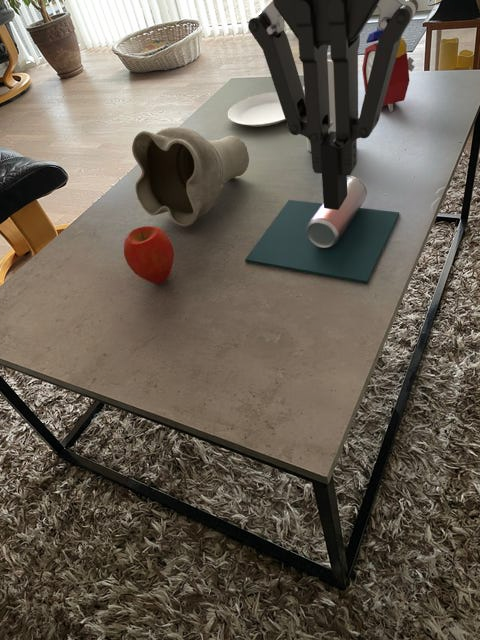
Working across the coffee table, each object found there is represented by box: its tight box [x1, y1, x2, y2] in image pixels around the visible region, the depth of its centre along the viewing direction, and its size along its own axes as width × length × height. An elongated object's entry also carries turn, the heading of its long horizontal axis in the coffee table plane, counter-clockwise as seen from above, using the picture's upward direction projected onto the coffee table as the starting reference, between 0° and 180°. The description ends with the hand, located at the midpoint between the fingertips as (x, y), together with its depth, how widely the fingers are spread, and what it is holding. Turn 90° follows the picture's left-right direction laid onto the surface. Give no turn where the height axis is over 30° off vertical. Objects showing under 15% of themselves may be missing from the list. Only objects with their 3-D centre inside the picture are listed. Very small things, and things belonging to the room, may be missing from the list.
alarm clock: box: [361, 25, 415, 113], centre depth 117 cm, size 15×9×20 cm, turn 10°
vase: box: [131, 126, 250, 227], centre depth 100 cm, size 22×22×28 cm
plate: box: [227, 91, 286, 128], centre depth 130 cm, size 21×21×2 cm
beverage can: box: [307, 176, 368, 248], centre depth 87 cm, size 6×6×15 cm
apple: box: [123, 226, 175, 285], centre depth 84 cm, size 9×8×11 cm
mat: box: [244, 199, 400, 285], centre depth 88 cm, size 22×20×1 cm
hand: (335, 201), depth 48 cm, fingers closed
